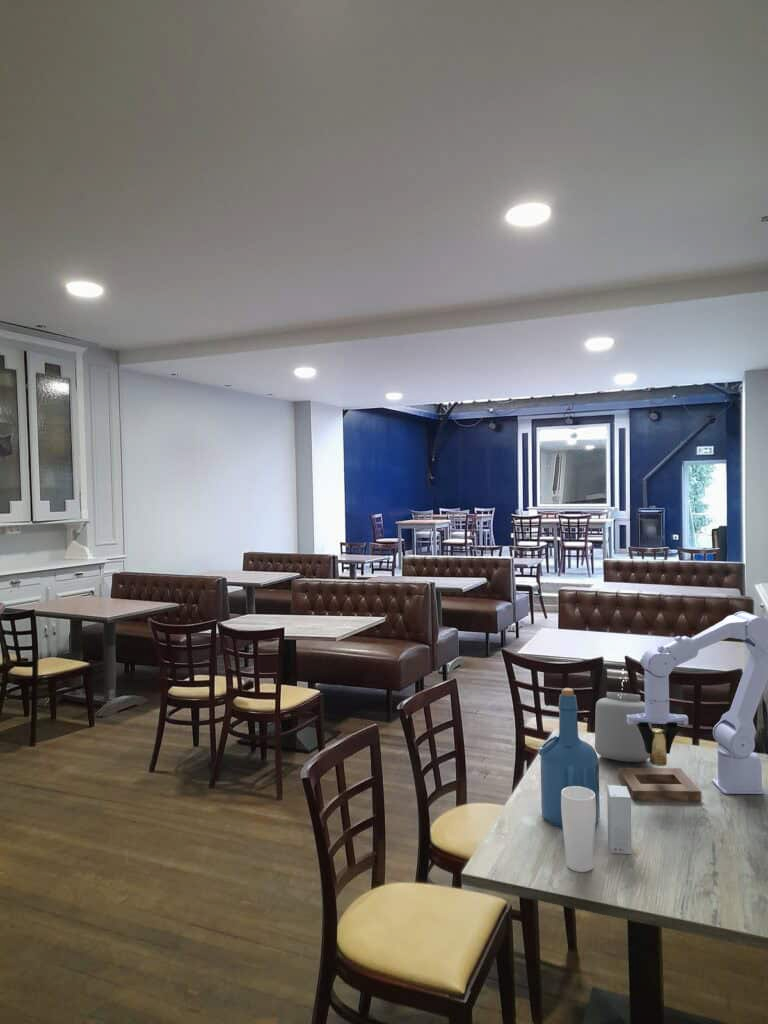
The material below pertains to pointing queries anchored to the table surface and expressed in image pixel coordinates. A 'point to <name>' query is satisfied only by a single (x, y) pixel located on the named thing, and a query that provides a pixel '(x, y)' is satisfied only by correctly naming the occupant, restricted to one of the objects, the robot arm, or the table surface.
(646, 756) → the jar
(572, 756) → the wine bottle
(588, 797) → the drinking glass
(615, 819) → the skincare box
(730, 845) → the table surface
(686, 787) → the jig plate
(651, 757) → the brass peg
